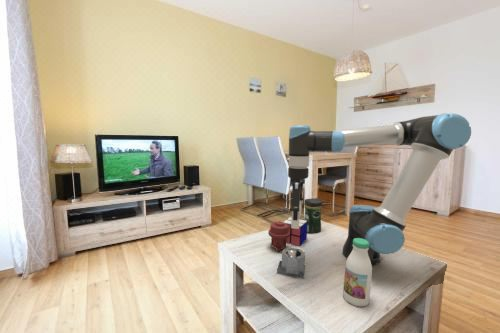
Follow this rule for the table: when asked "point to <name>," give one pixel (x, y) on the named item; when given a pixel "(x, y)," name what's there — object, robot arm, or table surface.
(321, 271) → the table surface
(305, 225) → the puzzle cube
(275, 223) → the mechanical component
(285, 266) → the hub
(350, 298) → the milk bottle
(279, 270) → the bulb on base
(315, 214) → the coffee jar
